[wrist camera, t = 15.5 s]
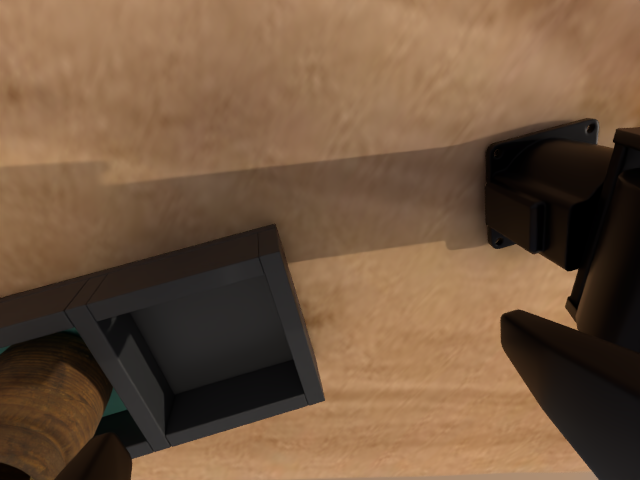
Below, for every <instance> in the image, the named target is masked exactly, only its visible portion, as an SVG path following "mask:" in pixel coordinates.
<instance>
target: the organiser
mask: <svg viewBox="0 0 640 480" xmlns="http://www.w3.org/2000/svg"><path fill="white" fill-rule="evenodd" d="M54 333H66V334H71V335H75V336H78V337H81V338H82V339H83V341H84V342H85V344H86V346H87V347H88V349H89V350H90V352H91V353H92V355H93V356H94V358H95V360H96V361H97V363H98V364H99V366H100V367H101V369H102V371H103V372H104V374H105V375H106V377H107V378H108V380H109V382H110V383H111V385H112V386H113V390H112V393H111V396H110V399H109V401H108V404H107V406H106V409H105V411H104V413H103V415H102V418H101V420H100V422H99V425H98V427H97V429H96V431H95V434H94V436H93V437H95V436H97V435H101V434H104V433H107V432H114V433H116V434H117V436H118V437H119V439H120V440H121V441H122V443H123V444H124V446H125V447H126V449H127V450H128V452H129V453H130V455H131V458H132V459H133V458H137V457H140V456H143V455H147V454H150V453H153V452H156V451H160V450H163V449H166V448H170V447H171V446H172V447H173V446H177V445H180V444H183V443H187V442H190V441H193V440H196V439H200V438H203V437H206V436H210V435H213V434H216V433H219V432H223V431H226V430H229V429H233V428H236V427H239V426H243V425H246V424H249V423H252V422H256V421H259V420H262V419H266V418H269V417H272V416H276V415H279V414H282V413H285V412H289V411H292V410H295V409H299V408H302V407H305V406H308V405H313V404H316V403H319V402H322V401H325V398H324V393H323V389H322V384H321V380H320V376H319V371H318V367H317V362H316V358H315V355H314V351H313V348H312V345H311V341H310V338H309V335H308V331H307V328H306V324H305V321H304V318H303V314H302V311H301V308H300V304H299V301H298V298H297V294H296V291H295V288H294V284H293V281H292V278H291V274H290V271H289V267H288V264H287V261H286V257H285V254H284V251H283V247H282V244H281V241H280V237H279V234H278V231H277V227H276V224H272V225H268V226H265V227H261V228H257V229H254V230H250V231H246V232H243V233H239V234H235V235H232V236H228V237H224V238H221V239H217V240H213V241H210V242H206V243H202V244H199V245H195V246H191V247H188V248H184V249H180V250H177V251H173V252H169V253H165V254H162V255H158V256H154V257H151V258H147V259H143V260H140V261H136V262H132V263H129V264H125V265H121V266H118V267H114V268H110V269H107V270H103V271H99V272H96V273H92V274H88V275H85V276H81V277H77V278H74V279H70V280H66V281H63V282H59V283H55V284H51V285H48V286H44V287H40V288H37V289H33V290H29V291H26V292H22V293H18V294H15V295H11V296H7V297H4V298H0V354H1V353H2V352H4V351H5V350H6V349H7V348H8V347H10V346H11V345H14V344H18V343H21V342H25V341H29V340H32V339H36V338H39V337H43V336H46V335H50V334H54Z"/></svg>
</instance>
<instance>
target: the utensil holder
mask: <svg viewBox="0 0 640 480" xmlns="http://www.w3.org/2000/svg"><path fill="white" fill-rule="evenodd" d="M112 390H113V386H112V385H111V383H110V382H109V380H108V378H107V377H106V375H105V374H104V372H103V371H102V369H101V367H100V366H99V364H98V363H97V361H96V360H95V358H94V356H93V355H92V353H91V352H90V350H89V349H88V347H87V346H86V344H85V342H84V341H83V339H82V338H81V337H78V336H75V335H71V334H66V333H54V334H50V335H46V336H43V337H39V338H36V339H32V340H29V341H25V342H21V343H18V344H14V345H11V346H10V347H8V348H7V349H6V350H5V351H4V352H2V353H1V354H0V480H54V479H55V477H56V476H57V475H58V474H59V473H60V472H61V471H62V470H63V469H64V468H65V466H66V465H67V464H68V463H69V462H70V461H71V460H72V459H73V458H74V457H75V455H76V454H77V453H78V452H79V451H80V450H81V449H82V448H83V447H84V446H85V445H86V443H87V442H88V441H89V440H90V439H91V438H93V436H94V434H95V431H96V429H97V427H98V425H99V422H100V420H101V418H102V415H103V413H104V411H105V409H106V406H107V404H108V401H109V399H110V396H111V393H112Z"/></svg>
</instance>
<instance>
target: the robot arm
mask: <svg viewBox="0 0 640 480" xmlns="http://www.w3.org/2000/svg"><path fill="white" fill-rule="evenodd" d="M588 126H589V129H588V130H587V127H588ZM598 133H599V122H598V121H597V120H596V119H590V118H586V119H582V120H578V121H575V122H571V123H567V124H564V125H560V126H556V127H552V128H549V129H545V130H541V131H537V132H534V133H530V134H526V135H523V136H519V137H515V138H511V139H508V140H504V141H500V142H496V143H493V144H491V145H490V146H489V147H488V148H487V150H486V185H485V215H486V225H488V243H489V244H490V245H491V246H492V247H493V248H495V249H500V248H504V247H507V246H511V245H514V244H518V245H519V246H521V247H522V248H524V249H525V250H527V251H529V252H530V253H532V254H536V253H539V254H541V255H542V256H544V257H546V258H547V259H549V260H551V261H552V262H554V263H555V264H557V265H559V266H560V267H562V268H563V269H565V270H567V271H573V270H576V269H578V273H577V276H576V279H575V283H574V286H573V290H572V293H571V296H569V297H568V298H567V302H566V305H565V308H566V309H567V311H568V312H569V313H570V315H571V316H572V318H573V319H574V320H575V322H576V323H577V329H578V330H579V331H578V330H575V329H572V328H570V327H567V326H564V325H561V324H559V323H556V322H553V321H550V320H548V319H545V318H542V317H539V316H536V315H534V314H531V313H528V312H525V311H523V310H514V311H511V312H507V313H504V314H503V315H502V316H501V320H500V321H501V344H502V347H503V349H504V351H505V353H506V354H507V356H508V358H509V359H510V361H511V362H512V364H513V365H514V367H515V368H516V370H517V371H518V373H519V374H520V376H521V377H522V379H523V380H524V382H525V383H526V385H527V387H528V388H529V390H530V391H531V393H532V394H533V396H534V397H535V399H536V400H537V402H538V403H539V405H540V406H541V408H542V409H543V410H544V412H545V413H546V414H547V416H548V417H549V418H550V419H551V421H552V422H553V423H554V424H555V426H556V427H557V428H558V429H559V431H560V432H561V433H562V434H563V436H564V437H565V438H566V439H567V441H568V442H569V443H570V444H571V446H572V447H573V448H574V449H575V451H576V452H577V453H578V454H579V456H580V457H581V458H582V459H583V461H584V462H585V463H586V464H587V465H588V467H589V468H590V469H591V470H592V472H593V473H594V474H595V475H596V477H597V478H598V479H599V480H640V127H636V128H618V129H616V132H615V135H614V139H613V142H614V143H615V146H614V148H610V147H605V146H600V145H597V143H598ZM497 149H498V154H497V155H496V156H494V152H495V151H496V150H497ZM498 238H499V241H498V242H496V240H497V239H498ZM131 471H132V458H131V455H130V453H129V452H128V450H127V449H126V447H125V446H124V444H123V443H122V441H121V440H120V439H119V437H118V436H117V434H116V433H114V432H107V433H104V434H101V435H97V436H95V437H93V438H91V439H90V440H89V441H88V442H87V443H86V445H85V446H84V447H83V448H82V449H81V450H80V451H79V452H78V453H77V454H76V455H75V457H74V458H73V459H72V460H71V461H70V462H69V463H68V464H67V465H66V466H65V468H64V469H63V470H62V471H61V472H60V473H59V474H58V475H57V476H56V477H55V479H54V480H131Z"/></svg>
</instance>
